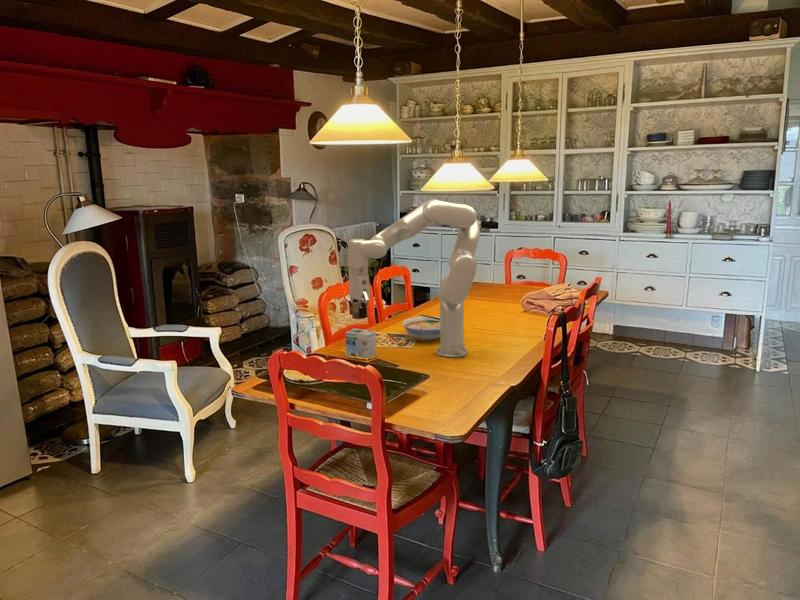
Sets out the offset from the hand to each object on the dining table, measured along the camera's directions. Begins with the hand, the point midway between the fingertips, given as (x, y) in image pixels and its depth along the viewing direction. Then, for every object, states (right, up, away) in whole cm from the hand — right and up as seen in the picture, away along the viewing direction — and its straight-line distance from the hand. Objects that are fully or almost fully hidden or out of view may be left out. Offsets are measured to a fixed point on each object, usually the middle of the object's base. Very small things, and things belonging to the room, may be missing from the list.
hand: (359, 315), depth 234 cm
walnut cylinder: (0, -1, 0) cm, 1 cm away
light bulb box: (+1, -17, +4) cm, 17 cm away
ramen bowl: (+29, -11, +28) cm, 42 cm away
